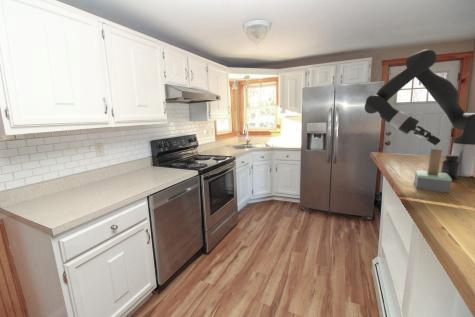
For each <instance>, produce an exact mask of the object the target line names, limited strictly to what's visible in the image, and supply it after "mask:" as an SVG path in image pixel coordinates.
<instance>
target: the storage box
mask: <svg viewBox="0 0 475 317" xmlns="http://www.w3.org/2000/svg"><path fill="white" fill-rule="evenodd" d="M413 182H414V186H415V188H416V189H418V190H424V191H425V190H426V191H432V192H438V193H440V192H441V193H448V194H449V193H450V192H451V185H452V181H445V180H435V179H426V178H418V177H417V174H416V172H415V174H414V181H413Z"/></svg>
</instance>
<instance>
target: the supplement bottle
mask: <svg viewBox="0 0 475 317" xmlns="http://www.w3.org/2000/svg"><path fill="white" fill-rule="evenodd" d="M458 158H459V156H455V155H451V154H446V155H445V158H444V160H442V162H441V167H440V172H441V173H447V174H448V175H449V176H450V177H451V178H452V180H453V181H454V180H455V181H456V180H457V179H458V177H459V176H458V174H459V168H460V162H459V161H458Z"/></svg>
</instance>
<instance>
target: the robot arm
mask: <svg viewBox="0 0 475 317" xmlns="http://www.w3.org/2000/svg"><path fill="white" fill-rule="evenodd" d="M436 61H437V54H436V51H434V50H433V49H423V50H421V51H418V52H415V53H413V54H410V55H409V56H408V57H407V59H406V60H405V66H406V68H405V69H404V70H402V71H401V72H399V73H398V74H397V75H395V76H393V77H391V79H390V80H388V81H387V82H386V83H384V85H382V86H381V87H380V88H379V90H378V91H377V92H376V94H371V95H369V96H368V97H367V98H366V100H365V104H364V111H365V112H366V113H367V114H371V115H372V114H376V113H378V114H379V117H380V118H381V120H384V121H385V122H387V123H388V124H390V125H391V126H392V127H394V128H396V130H399V131H400V132H402V133H403V134H405V135H408V134H409V133H410V132H412V133H413V135H414V136H416V137H418V138H419V139H422V140H424V141H426V142H429V143H431V144H432V145H434V146H437V145H438V144H439V143H440V142H441V139H440V138H439V137H436V136H435V135H433V134H432V133H431V131H429V130H428V129H425V128H424V127H423V126H420V125H418V124H419V122H420V121H419V120H418V119H417V118H414V117H413V116H411V115H409V114H407V113H405V112H403V111H401V110H400V109H397V108H396V107H395V106H392V104H390V103H389V102H388V101H389V100H390V99H391V98H392V97H394V96H395V95H396V94H397V93H398V92H399V91H401V90H402V88H403V87H405V86H406V85H408V84H409V83H410V82H411V81H412V80H414V79H415V78H416V79H417V81H419V82H420V83H421V85H422V86H423V87H424V88H425V89H426V91H427V92H428V93H429V94H430V96H431V97H432V98H433V100H434V101H435V102H436V103H437V104H438V106H439V107H440V108H441V109H442V111H443V112H444V113H445V114H446V116H447V118H448V120H449V121H450V123H451V125H452V126H453V127H454V129H456V130H459V131H462V133H461V135H460V136H457V137H454V139H453V144H452V148H451V150H452V151H451V154H450V155H455V156H459V158H458V161H459V162H460V168H459V174H458V177H464V178H465V177H466V178H468V177H472V176H474V175H475V174H474V173H475V112H466V111H465V110H464V109H463V108H462V107H461V105H460V103H459V98H460V95H459V91H458V89H457V88H456V87H455V85H454V84H453V83H452V82H451V81H450V80H449V79H447V78H445V77H443V76H441V75H439V74H436V73H435V72H433V71H432V69H430V68H431V67H432V66H434V64H435V63H436Z"/></svg>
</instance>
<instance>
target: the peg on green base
mask: <svg viewBox="0 0 475 317" xmlns="http://www.w3.org/2000/svg"><path fill="white" fill-rule="evenodd" d="M442 153H443V149H439V148H431V149H430V155H429V161H428V165H427V166H428V168H427V170H418V169H416V170H415V173H416V174H417V177H418V178H426V179H435V180H445V181H451V182H453V181H452V178H451V177H450V176H449V175H448V174H447V173H441V171H440V172H439V169H440V164H441V158H442Z"/></svg>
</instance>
